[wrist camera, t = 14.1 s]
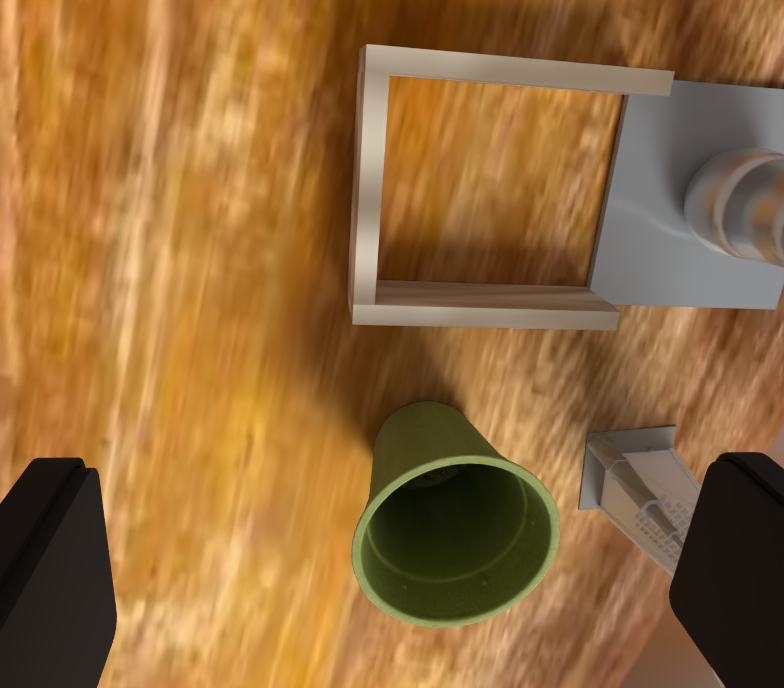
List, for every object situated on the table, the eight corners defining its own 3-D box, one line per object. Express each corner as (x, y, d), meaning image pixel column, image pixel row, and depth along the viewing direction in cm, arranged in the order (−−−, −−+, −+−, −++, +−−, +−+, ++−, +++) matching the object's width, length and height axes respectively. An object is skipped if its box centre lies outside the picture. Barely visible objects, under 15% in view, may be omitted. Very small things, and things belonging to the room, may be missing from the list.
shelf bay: (358, 49, 34) (366, 43, 30) (629, 72, 36) (674, 71, 32) (347, 296, 40) (352, 324, 35) (582, 303, 42) (616, 330, 37)
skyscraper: (691, 422, 47) (1142, 820, 22) (674, 508, 51) (1051, 944, 25) (585, 431, 46) (926, 858, 21) (575, 518, 50) (860, 982, 24)
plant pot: (535, 429, 45) (602, 530, 35) (425, 533, 48) (458, 656, 38) (420, 333, 41) (458, 417, 31) (307, 453, 44) (306, 567, 34)
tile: (628, 76, 37) (633, 76, 36) (837, 94, 39) (845, 94, 38) (583, 300, 42) (586, 303, 41) (769, 306, 44) (775, 309, 43)
